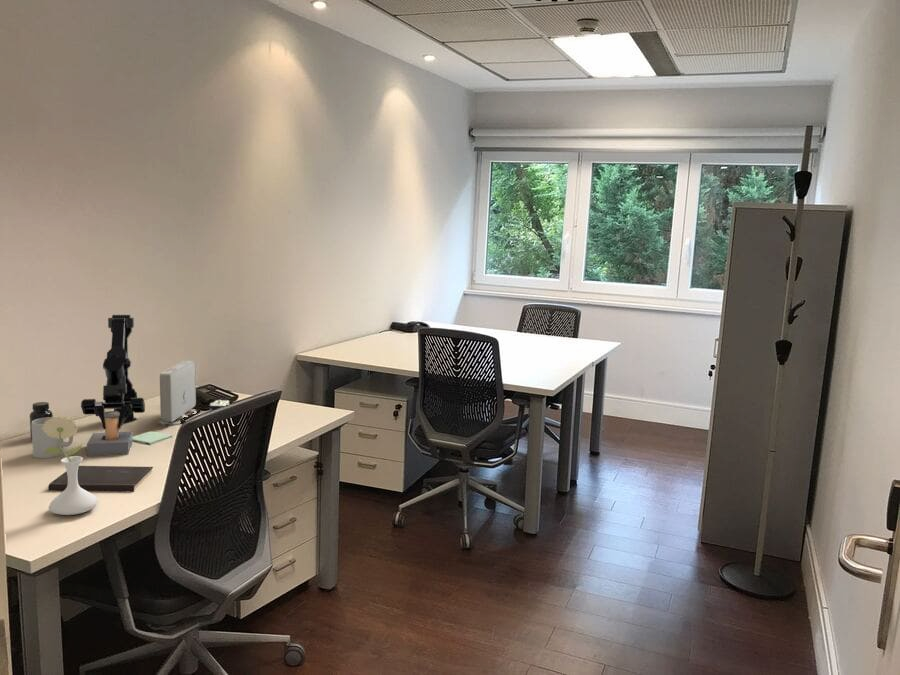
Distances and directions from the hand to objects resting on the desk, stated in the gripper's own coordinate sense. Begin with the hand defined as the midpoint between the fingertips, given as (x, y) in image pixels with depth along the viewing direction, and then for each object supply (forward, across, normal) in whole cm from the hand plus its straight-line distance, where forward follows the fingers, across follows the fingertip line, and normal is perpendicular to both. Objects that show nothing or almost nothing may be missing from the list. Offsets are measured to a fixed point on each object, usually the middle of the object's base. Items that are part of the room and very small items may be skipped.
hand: (111, 428), depth 234 cm
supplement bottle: (-8, -24, +18) cm, 31 cm away
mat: (-3, +10, +13) cm, 17 cm away
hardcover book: (+26, +2, -15) cm, 30 cm away
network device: (-21, +18, +32) cm, 42 cm away
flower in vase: (+41, -3, -30) cm, 51 cm away
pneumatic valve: (-5, +33, +16) cm, 37 cm away
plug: (+4, 0, +6) cm, 7 cm away
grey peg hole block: (+4, -1, +6) cm, 7 cm away
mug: (+6, -17, +5) cm, 18 cm away
